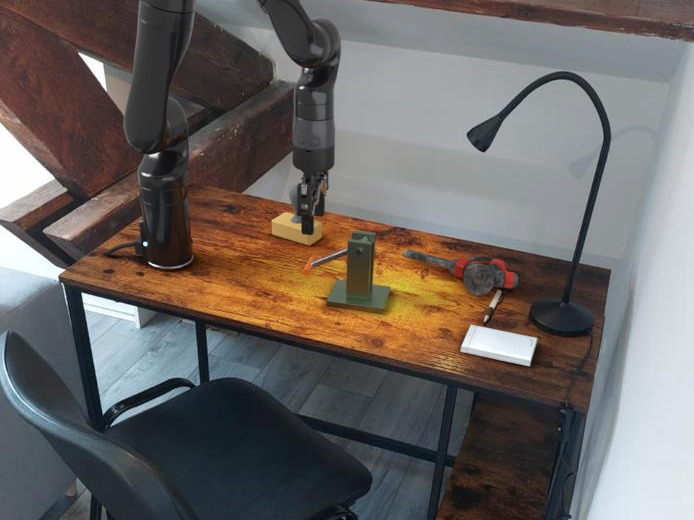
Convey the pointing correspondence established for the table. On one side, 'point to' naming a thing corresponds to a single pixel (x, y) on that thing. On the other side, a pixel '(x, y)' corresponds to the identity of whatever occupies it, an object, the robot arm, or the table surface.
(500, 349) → the hard drive
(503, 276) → the valve
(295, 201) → the rubber stamp
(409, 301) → the table surface
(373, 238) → the bracket
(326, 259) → the lever
